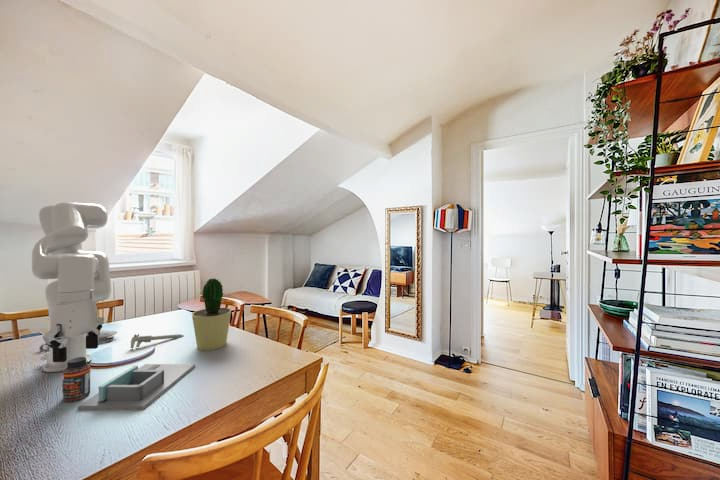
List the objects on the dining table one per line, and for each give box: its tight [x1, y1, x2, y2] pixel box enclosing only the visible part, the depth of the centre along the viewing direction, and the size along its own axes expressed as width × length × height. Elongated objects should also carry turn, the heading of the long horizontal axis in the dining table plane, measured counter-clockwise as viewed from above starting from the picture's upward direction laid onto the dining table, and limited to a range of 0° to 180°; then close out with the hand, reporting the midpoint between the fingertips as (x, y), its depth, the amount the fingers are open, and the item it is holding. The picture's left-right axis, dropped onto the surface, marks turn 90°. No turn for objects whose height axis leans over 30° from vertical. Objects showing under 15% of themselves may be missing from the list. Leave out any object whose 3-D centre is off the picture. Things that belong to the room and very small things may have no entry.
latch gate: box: [98, 365, 139, 401], centre depth 87 cm, size 1×13×4 cm, turn 1°
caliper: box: [130, 333, 185, 349], centre depth 128 cm, size 20×1×6 cm, turn 144°
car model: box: [38, 329, 118, 353], centre depth 126 cm, size 11×24×5 cm, turn 118°
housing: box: [77, 363, 196, 410], centre depth 92 cm, size 18×26×5 cm
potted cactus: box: [191, 277, 232, 351], centre depth 125 cm, size 15×15×30 cm
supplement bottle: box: [61, 357, 91, 403], centre depth 84 cm, size 6×6×11 cm
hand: (76, 354), depth 84 cm, fingers open, 9 cm apart
